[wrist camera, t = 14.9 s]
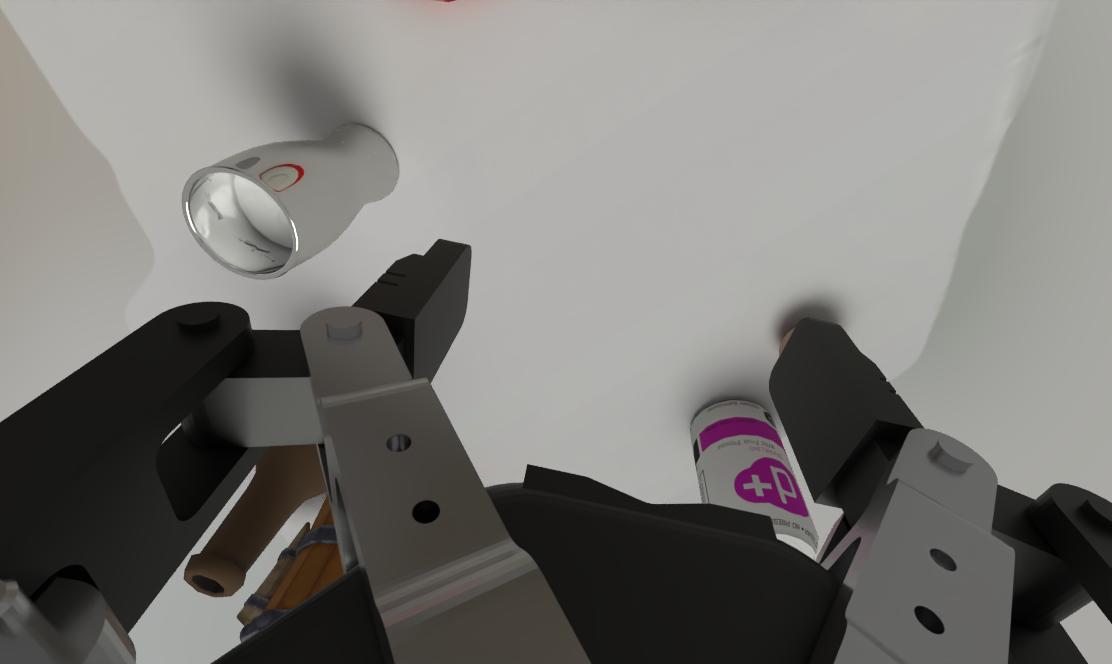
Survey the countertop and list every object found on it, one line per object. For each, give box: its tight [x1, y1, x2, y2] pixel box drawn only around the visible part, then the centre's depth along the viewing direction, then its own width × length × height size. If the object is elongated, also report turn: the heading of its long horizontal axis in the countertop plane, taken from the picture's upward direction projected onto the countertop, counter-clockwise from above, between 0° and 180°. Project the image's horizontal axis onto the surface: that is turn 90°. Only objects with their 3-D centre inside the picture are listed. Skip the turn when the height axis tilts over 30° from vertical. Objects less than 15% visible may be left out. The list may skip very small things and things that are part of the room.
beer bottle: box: [184, 444, 327, 597], centre depth 40 cm, size 8×8×24 cm
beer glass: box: [182, 124, 399, 280], centre depth 33 cm, size 7×7×15 cm
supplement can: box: [690, 400, 818, 560], centre depth 43 cm, size 8×8×15 cm
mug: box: [237, 494, 344, 643], centre depth 54 cm, size 19×14×20 cm
